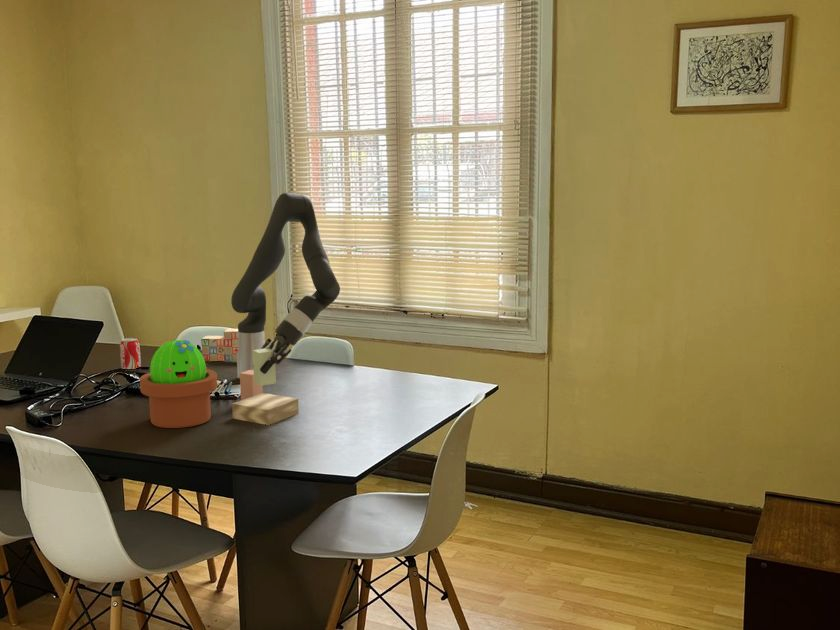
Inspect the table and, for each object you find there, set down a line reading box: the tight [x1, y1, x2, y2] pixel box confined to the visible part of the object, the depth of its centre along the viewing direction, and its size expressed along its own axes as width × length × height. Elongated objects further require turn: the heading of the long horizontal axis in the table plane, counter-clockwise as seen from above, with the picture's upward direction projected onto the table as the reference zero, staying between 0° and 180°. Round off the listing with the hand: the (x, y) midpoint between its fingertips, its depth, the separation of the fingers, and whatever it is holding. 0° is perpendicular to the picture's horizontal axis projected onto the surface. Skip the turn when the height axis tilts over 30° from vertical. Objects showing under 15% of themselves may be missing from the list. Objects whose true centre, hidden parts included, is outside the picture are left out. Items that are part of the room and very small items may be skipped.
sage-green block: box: [253, 349, 277, 386], centre depth 253 cm, size 5×5×10 cm
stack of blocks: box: [200, 328, 239, 363], centre depth 330 cm, size 21×6×12 cm, turn 85°
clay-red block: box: [239, 370, 264, 401], centre depth 270 cm, size 5×5×10 cm
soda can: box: [119, 337, 142, 370], centre depth 313 cm, size 7×7×12 cm
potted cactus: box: [139, 338, 218, 429], centre depth 249 cm, size 22×22×25 cm
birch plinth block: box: [231, 392, 300, 426], centre depth 255 cm, size 14×14×5 cm
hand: (258, 370), depth 252 cm, fingers closed on sage-green block, 5 cm apart
